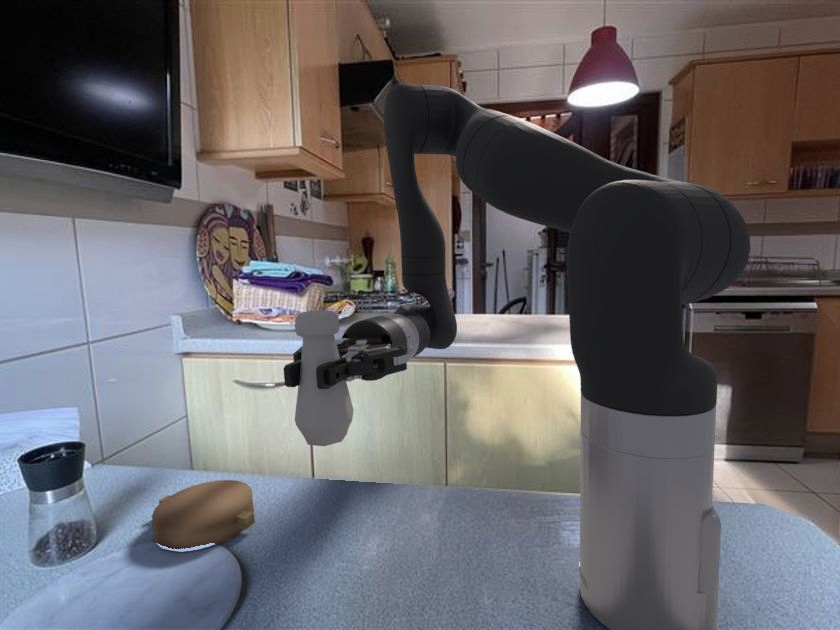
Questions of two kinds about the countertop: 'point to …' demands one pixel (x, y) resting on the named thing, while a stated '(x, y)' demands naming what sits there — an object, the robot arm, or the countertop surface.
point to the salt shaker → (316, 408)
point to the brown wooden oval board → (203, 514)
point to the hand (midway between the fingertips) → (304, 377)
